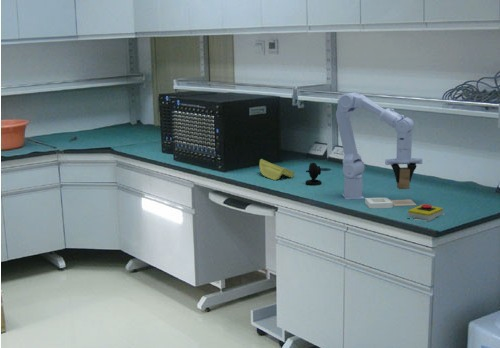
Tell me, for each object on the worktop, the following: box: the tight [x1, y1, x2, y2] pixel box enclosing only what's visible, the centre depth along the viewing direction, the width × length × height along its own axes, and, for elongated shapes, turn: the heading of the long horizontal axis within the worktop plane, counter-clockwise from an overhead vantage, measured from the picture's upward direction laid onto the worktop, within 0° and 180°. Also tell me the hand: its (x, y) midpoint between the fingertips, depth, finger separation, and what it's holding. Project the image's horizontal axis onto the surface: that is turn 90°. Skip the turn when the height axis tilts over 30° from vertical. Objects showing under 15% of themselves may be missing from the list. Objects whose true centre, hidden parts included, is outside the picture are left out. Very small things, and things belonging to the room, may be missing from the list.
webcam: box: [305, 162, 323, 186], centre depth 315 cm, size 8×8×10 cm
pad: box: [389, 199, 417, 207], centre depth 276 cm, size 9×9×1 cm
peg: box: [396, 166, 411, 190], centre depth 274 cm, size 4×4×8 cm
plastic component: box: [258, 158, 296, 181], centre depth 335 cm, size 20×7×10 cm
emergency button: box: [406, 204, 446, 222], centre depth 257 cm, size 9×4×15 cm
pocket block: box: [364, 197, 394, 209], centre depth 273 cm, size 9×9×2 cm
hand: (403, 181), depth 274 cm, fingers closed on peg, 4 cm apart
